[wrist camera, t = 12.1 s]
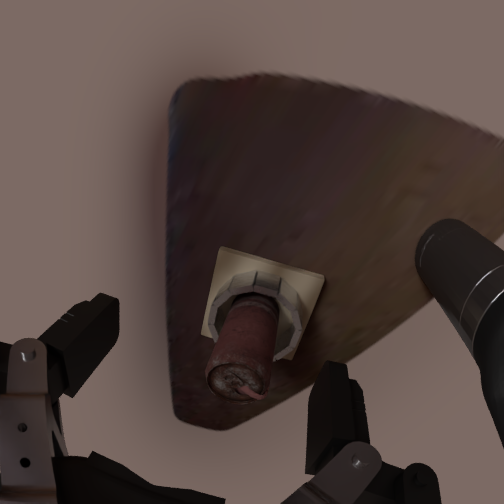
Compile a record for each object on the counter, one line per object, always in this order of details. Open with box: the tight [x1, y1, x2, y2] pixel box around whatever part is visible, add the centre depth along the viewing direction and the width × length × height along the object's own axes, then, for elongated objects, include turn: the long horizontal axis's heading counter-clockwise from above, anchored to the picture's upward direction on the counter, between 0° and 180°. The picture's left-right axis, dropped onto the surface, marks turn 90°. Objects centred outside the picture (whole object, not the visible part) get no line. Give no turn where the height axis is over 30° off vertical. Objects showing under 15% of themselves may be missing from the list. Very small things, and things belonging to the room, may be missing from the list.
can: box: [205, 291, 280, 404], centre depth 34 cm, size 6×6×14 cm
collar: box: [207, 270, 302, 361], centre depth 39 cm, size 11×11×4 cm
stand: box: [201, 246, 325, 360], centre depth 41 cm, size 13×13×1 cm
